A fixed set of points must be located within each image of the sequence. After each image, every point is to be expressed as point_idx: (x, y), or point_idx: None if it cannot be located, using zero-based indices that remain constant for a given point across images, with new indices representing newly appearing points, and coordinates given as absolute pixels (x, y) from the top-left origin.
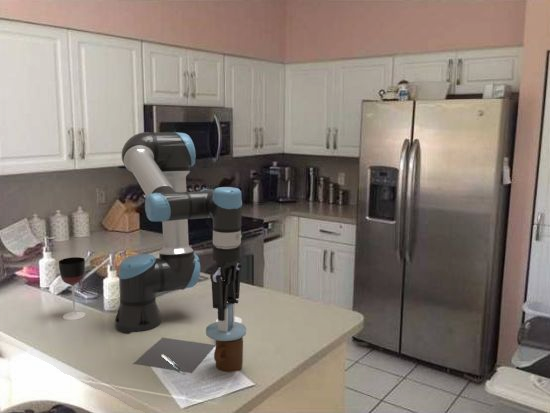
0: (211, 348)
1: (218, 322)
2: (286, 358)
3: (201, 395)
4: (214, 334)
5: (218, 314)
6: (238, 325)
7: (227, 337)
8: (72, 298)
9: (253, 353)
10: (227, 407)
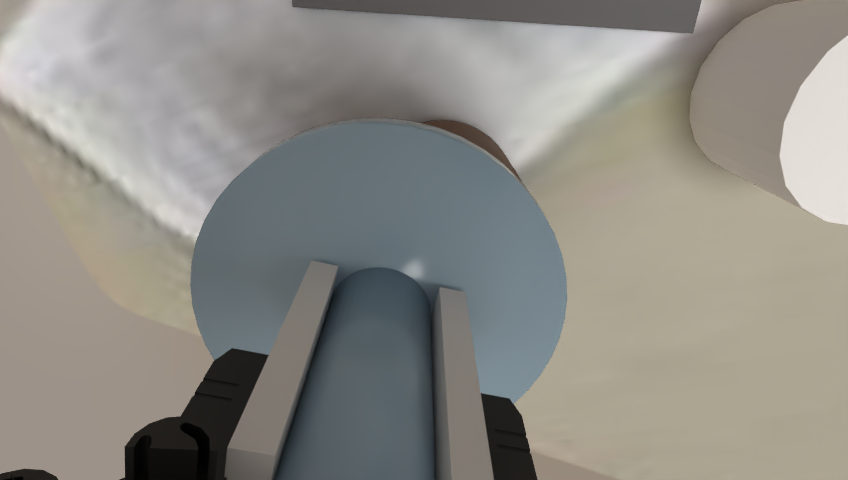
0: (639, 19)
1: (290, 311)
2: (577, 406)
3: (127, 137)
4: (225, 251)
5: (186, 411)
6: (482, 382)
7: None
8: None
9: (614, 267)
10: (98, 276)
